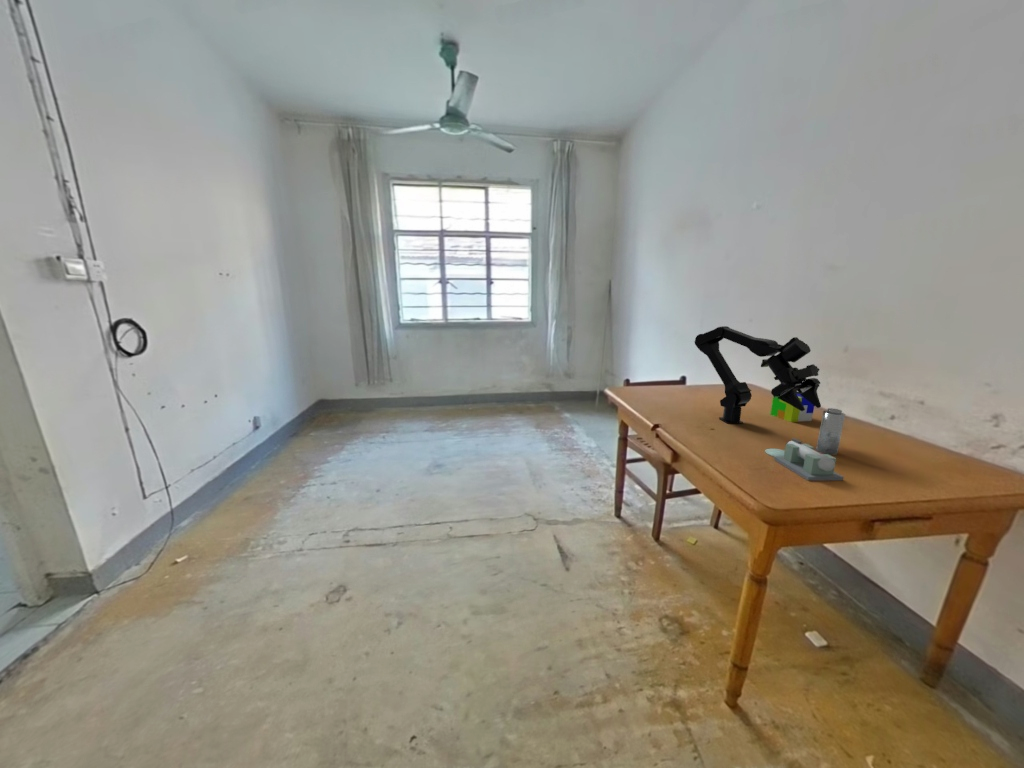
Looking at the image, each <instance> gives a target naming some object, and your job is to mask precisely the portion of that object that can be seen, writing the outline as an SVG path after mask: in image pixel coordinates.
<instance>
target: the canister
mask: <svg viewBox="0 0 1024 768" xmlns="http://www.w3.org/2000/svg"><path fill="white" fill-rule="evenodd" d="M845 417H846V414H845V413H844V412H843V410H841V409H839V408H833V407H831V408H827V410H823V412H822V416H821V423H820V427H819V434H818V437H817V442H816V443H817V444H816V447H815V451H817V452H819V453H820V454H829V455H831V456H832V455H833V456H836V455H838V452H839V447H840V443H841V438H842V433H843V427H844V423H845V419H846V418H845Z"/></svg>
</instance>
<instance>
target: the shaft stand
mask: <svg viewBox="0 0 1024 768" xmlns="http://www.w3.org/2000/svg"><path fill="white" fill-rule="evenodd" d="M784 450H785V452H784V457H773V461H775V462H777V463H778V464H780V465H781V466H783V467H785V468H786V469H788V470H790V471H792V472H793V473H795V474H796V475H798V476H800V477H801V478H803V479H805V480H806V481H808V482H810V481H811V482H812V481H814V482H815V481H817V482H818V481H844V478H845V477H844V476H843V475H841V474H839V473H838V472H835V467H836V462H837V458H836V457H835V456H834V455H833V456H832V455H829V454H824V453H821V452H818V451H817V450H816V449H815V446H812V445H810V444H809V443H802V441H801V440H799V439H797V438H795V437H792V438H791V440H790V441H788V442H787V443H786V444H785V447H784Z"/></svg>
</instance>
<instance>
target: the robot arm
mask: <svg viewBox="0 0 1024 768" xmlns="http://www.w3.org/2000/svg"><path fill="white" fill-rule="evenodd" d="M723 339H726V340H728V341H730V342H732V343H734V344H738V345H740V346H743V347H746V348H747V349H748V350H749V352H750V353H753V354H754V355H755V356H758V357H763V358H764V357H768V358H766V359H765V358H764V359H761V364H760V367H761V368H766V367H768V368H769V370H770V371H771V372H772V373H773V375H774V377H773V379H774V381H779V384H777V385H776V386H774V387H773V388H771V392H770V394H771V396H772V397H773V396H774V398H775V397H778V399H781V400H782V401H784V402H786V403H788V404H790V405H792V406H793V407H795V408H797V409H799V410H800V411H804V410H805V408H804V406H803V404H802V403H801V401H800V399H799V398H798V396H797V392H799V393H801V394H800V395H801V396H802V397H804V398H805V399H806V400H808V401H809V402H810V403H811V404H813V405H814V407H815V408H816V409H819V408H821V407H822V405H821V402H820V398H819V395H818V389H819V387H820V385H821V382H820V380H819V379H818V378H815V377H818V376H819V372H820V368H819V367H818V366H816V365H815V364H814V363H813V364H808V365H806V366H805V367H804V368H798V367H793V366H792V365H791V363H797V361H799V360H801V359H802V358H804V357H805V356H806V355H808V354H810V352H811V348H810V346H809V344H808V343H805V342H804V341H803V340H801V339H799V337H798V336H796V337H792V338H791V339H789V341H788V342H786V343H785V344H784V345H783V344H780V343H778V341H776V340H774V339H768V338H761V337H755V336H752V335H749V334H748V333H747V334H746V333H743V332H742V331H738V330H737V329H734V328H731V327H729V326H725V325H724V326H721V325H720V326H718V327H716V328H714V329H711V330H709V331H706V332H704V333H700V334H698V335H696V336H695V340H694V345H695V346H696V348H697V349H698V350H699V351H700V352H701V353H703V354H704V355H705V356H706V357H707V358H708V360H709V362H710V363H711V364H712V367H713V368H714V370H715V372H716V373H717V375H718V377H719V378H720V380H721V382H722V383H723V385H724V394H725V396H724V397H723V398H722V399H720V400H719V403H720V407H723V415H722V416H721V417H718V419H719V420H721V421H722V422H724V423H726V424H744V421H742V420H741V415H742V407H746V406H747V404H748V403H749V402H750V401H751V399H752V393H751V392H752V389H750V388H749V386H748V383H747V382H746V381H742V382H741V381H740V380H738V379H737V378H736V376H735V374H734V372H733V371H732V369H731V367H730V365H729V364H728V362H727V361H726V359H725V358H724V356H723V354H722V353H721V351H720V343H719V342H722V340H723ZM780 395H781V396H780Z"/></svg>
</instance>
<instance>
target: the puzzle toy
mask: <svg viewBox="0 0 1024 768" xmlns="http://www.w3.org/2000/svg"><path fill="white" fill-rule="evenodd" d="M800 394H801V393H799V392H798V391H797V396H798V398H799V399H800V401H801V403H802V404H803V406H804V408H805V410H804V411H800V410H799V409H797V408H795V407H793V406H792V405H790V404H788V403H786V402H784V401H782V400H781V399H778V397H775V398H774V396H773V395H772V400H771V401H772V402H771V407H770V415H771V416H773V417H777V418H778V419H781V420H784V421H787V422H790V423H794V422H795V423H797V422H811V421H812V420H813V415H814V409H815V406H814V405H813V404H811V403H810V402H809V401H808V400H806V399H805V398H804V397H802V396H801V395H800ZM780 396H781V395H780Z"/></svg>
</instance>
